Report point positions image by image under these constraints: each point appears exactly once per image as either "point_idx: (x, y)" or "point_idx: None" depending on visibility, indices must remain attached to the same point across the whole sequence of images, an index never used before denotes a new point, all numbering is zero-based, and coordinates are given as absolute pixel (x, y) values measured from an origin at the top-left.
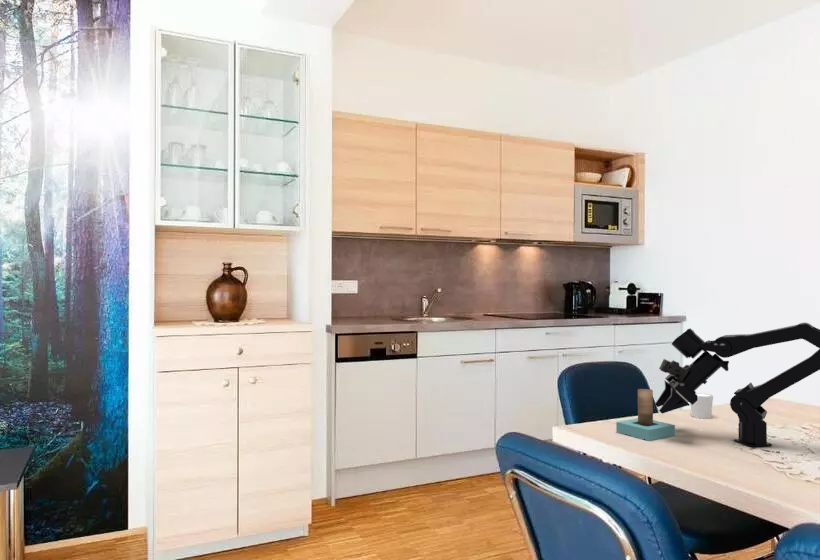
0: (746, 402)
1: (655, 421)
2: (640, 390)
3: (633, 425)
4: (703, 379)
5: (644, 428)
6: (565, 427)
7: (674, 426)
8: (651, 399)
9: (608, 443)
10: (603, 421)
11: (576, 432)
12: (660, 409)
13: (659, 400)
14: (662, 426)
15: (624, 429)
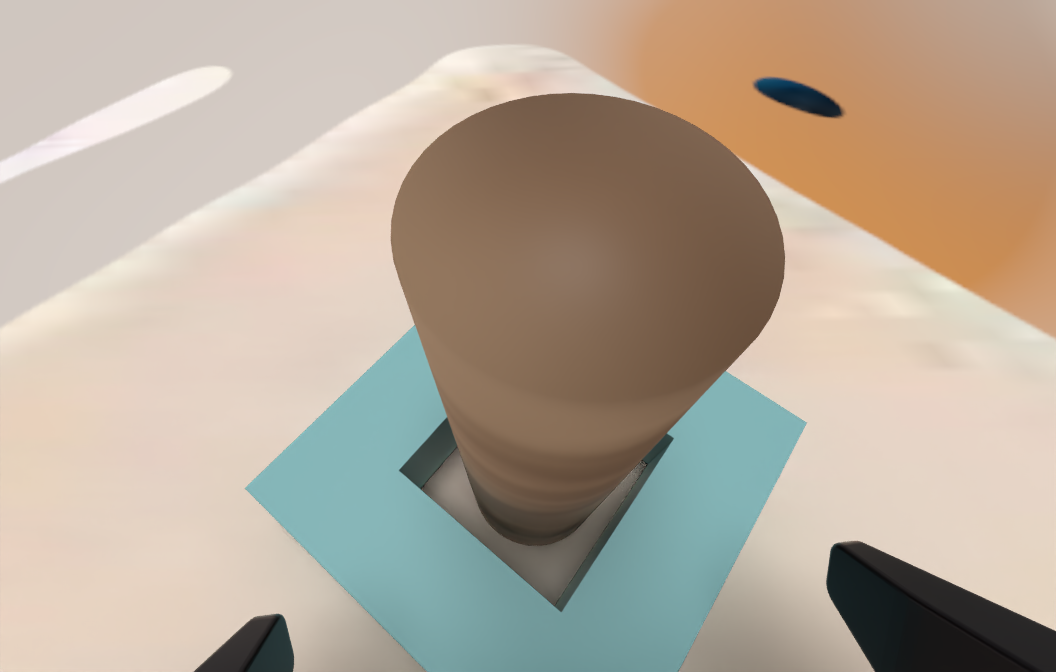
0: None
1: (687, 562)
2: (482, 134)
3: (414, 353)
4: None
5: (303, 447)
6: (535, 63)
7: None
8: (482, 440)
9: (189, 251)
10: (803, 205)
11: (436, 106)
12: (234, 638)
13: (920, 626)
14: (446, 647)
15: None
